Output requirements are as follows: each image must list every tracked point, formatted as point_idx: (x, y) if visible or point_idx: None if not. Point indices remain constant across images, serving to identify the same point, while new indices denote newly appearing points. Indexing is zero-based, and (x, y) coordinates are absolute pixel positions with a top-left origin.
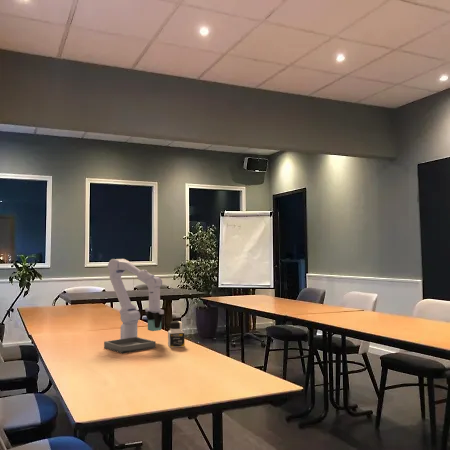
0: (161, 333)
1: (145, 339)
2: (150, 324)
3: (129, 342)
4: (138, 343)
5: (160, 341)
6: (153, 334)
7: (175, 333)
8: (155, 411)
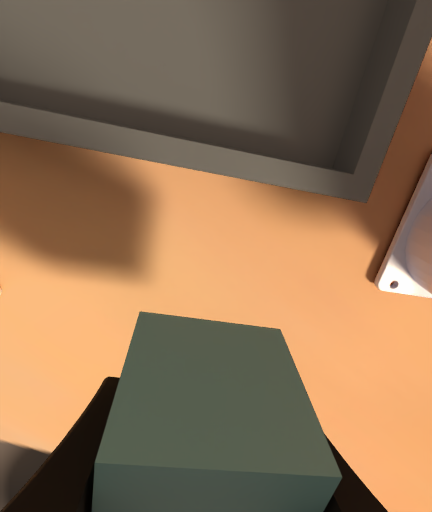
0: (389, 492)
1: (135, 141)
2: (212, 391)
3: (354, 69)
4: (214, 91)
5: None
6: (419, 455)
7: None
8: None
